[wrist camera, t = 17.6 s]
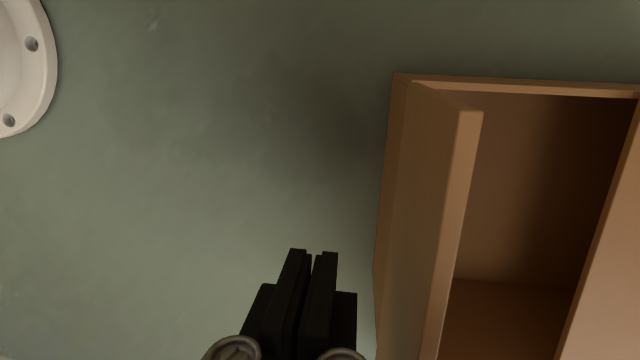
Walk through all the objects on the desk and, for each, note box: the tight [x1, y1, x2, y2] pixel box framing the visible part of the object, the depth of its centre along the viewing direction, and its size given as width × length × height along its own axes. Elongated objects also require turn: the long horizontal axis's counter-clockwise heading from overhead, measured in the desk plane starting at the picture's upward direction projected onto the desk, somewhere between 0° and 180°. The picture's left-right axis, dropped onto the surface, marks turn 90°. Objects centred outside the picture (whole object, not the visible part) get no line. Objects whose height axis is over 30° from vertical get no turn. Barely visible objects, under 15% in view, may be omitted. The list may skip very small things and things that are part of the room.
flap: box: [375, 82, 484, 360], centre depth 11 cm, size 8×14×1 cm
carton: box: [372, 73, 640, 360], centre depth 18 cm, size 16×14×9 cm
